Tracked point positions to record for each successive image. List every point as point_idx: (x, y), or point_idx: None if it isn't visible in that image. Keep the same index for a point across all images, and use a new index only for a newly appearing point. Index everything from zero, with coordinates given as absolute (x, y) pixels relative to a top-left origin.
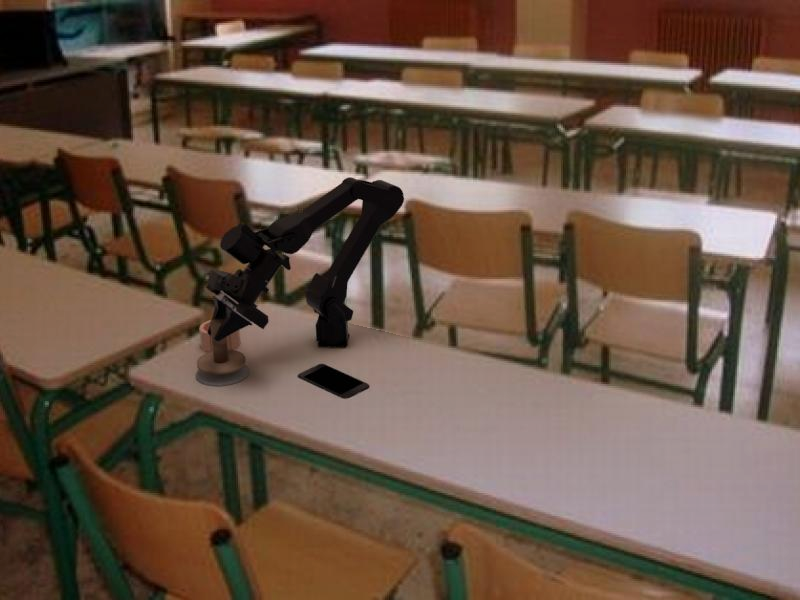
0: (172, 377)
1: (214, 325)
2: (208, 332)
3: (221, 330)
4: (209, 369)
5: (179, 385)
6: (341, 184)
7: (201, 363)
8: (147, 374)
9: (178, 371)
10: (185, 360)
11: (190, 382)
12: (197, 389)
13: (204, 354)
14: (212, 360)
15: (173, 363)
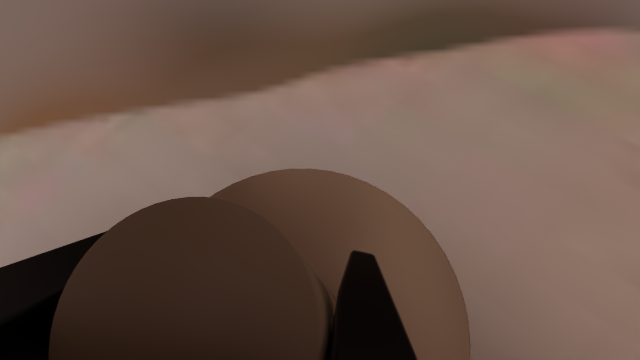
0: (471, 124)
1: (139, 216)
2: (350, 254)
3: (45, 259)
4: (246, 192)
5: (369, 103)
6: None
7: (352, 205)
8: (591, 60)
9: (514, 180)
10: (625, 288)
11: (356, 154)
12: (269, 137)
13: (459, 303)
14: (334, 282)
15: (631, 217)
